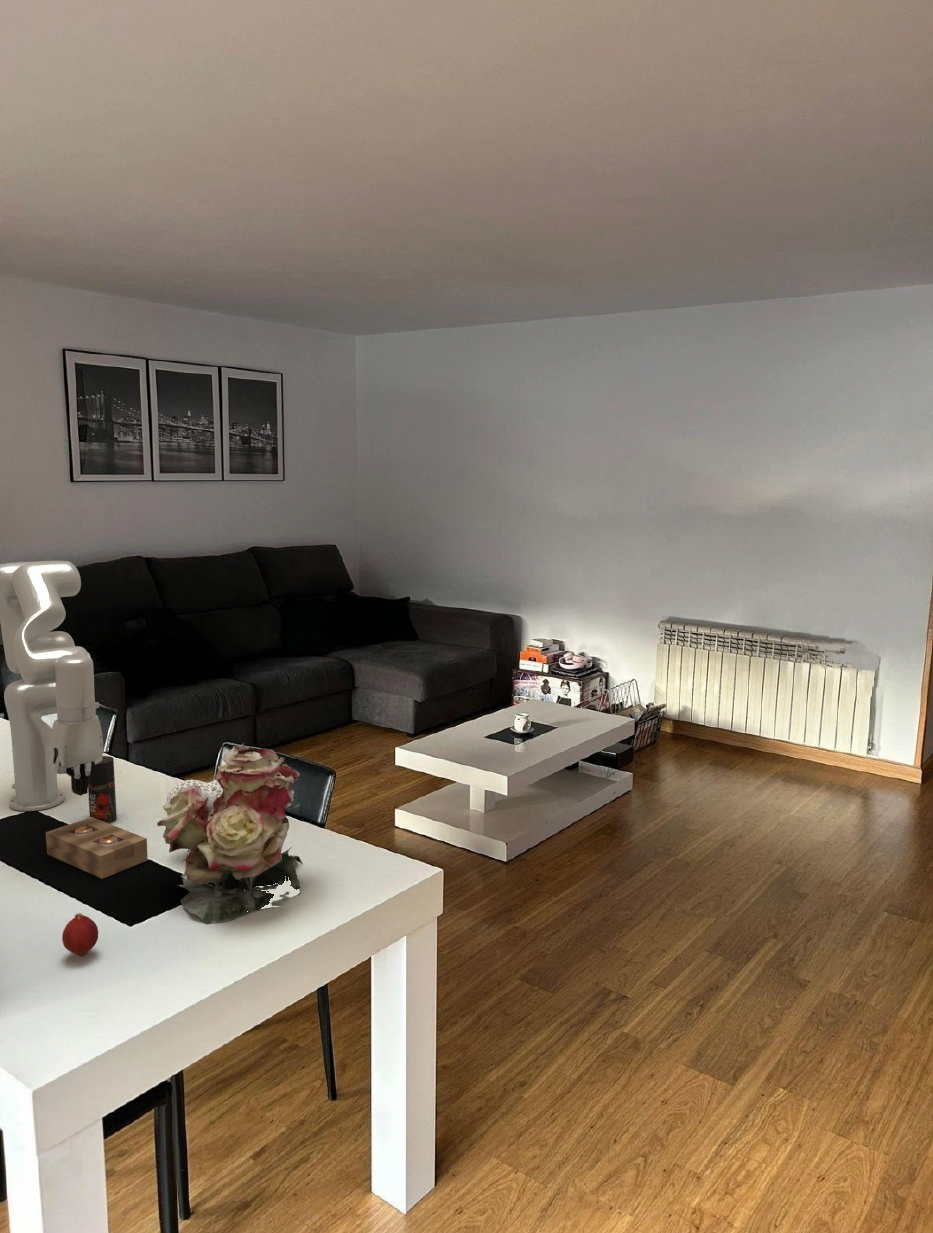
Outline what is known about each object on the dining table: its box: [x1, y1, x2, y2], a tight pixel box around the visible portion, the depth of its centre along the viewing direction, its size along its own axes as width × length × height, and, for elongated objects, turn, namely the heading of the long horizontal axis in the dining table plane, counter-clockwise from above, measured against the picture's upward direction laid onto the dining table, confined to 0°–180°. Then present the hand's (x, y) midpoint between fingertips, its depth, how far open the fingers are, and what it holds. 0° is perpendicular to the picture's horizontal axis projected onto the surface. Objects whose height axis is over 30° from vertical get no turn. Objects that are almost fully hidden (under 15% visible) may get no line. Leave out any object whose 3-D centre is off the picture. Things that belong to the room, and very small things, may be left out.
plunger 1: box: [75, 826, 93, 836], centre depth 201 cm, size 4×4×5 cm
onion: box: [61, 912, 99, 957], centre depth 160 cm, size 6×6×8 cm
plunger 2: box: [99, 836, 118, 847], centre depth 196 cm, size 4×4×5 cm
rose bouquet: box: [156, 743, 304, 925], centre depth 182 cm, size 26×29×30 cm
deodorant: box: [87, 755, 118, 824], centre depth 218 cm, size 6×6×15 cm
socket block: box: [45, 816, 149, 880], centre depth 199 cm, size 20×11×5 cm, turn 55°
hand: (80, 792), depth 200 cm, fingers closed
